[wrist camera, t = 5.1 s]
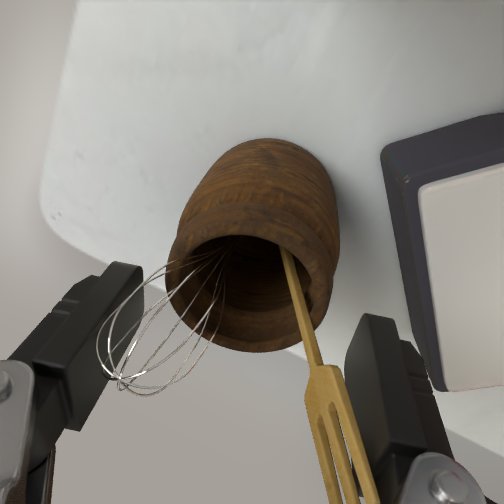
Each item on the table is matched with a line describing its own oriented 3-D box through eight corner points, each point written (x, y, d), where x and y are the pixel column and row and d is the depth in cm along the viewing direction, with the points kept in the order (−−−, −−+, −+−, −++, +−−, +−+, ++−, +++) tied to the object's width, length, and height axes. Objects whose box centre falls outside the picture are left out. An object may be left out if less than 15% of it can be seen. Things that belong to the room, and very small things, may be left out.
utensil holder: (228, 109, 15) (49, 302, 5) (367, 169, 15) (464, 454, 5) (191, 225, 18) (38, 482, 8) (307, 271, 19) (297, 567, 9)
